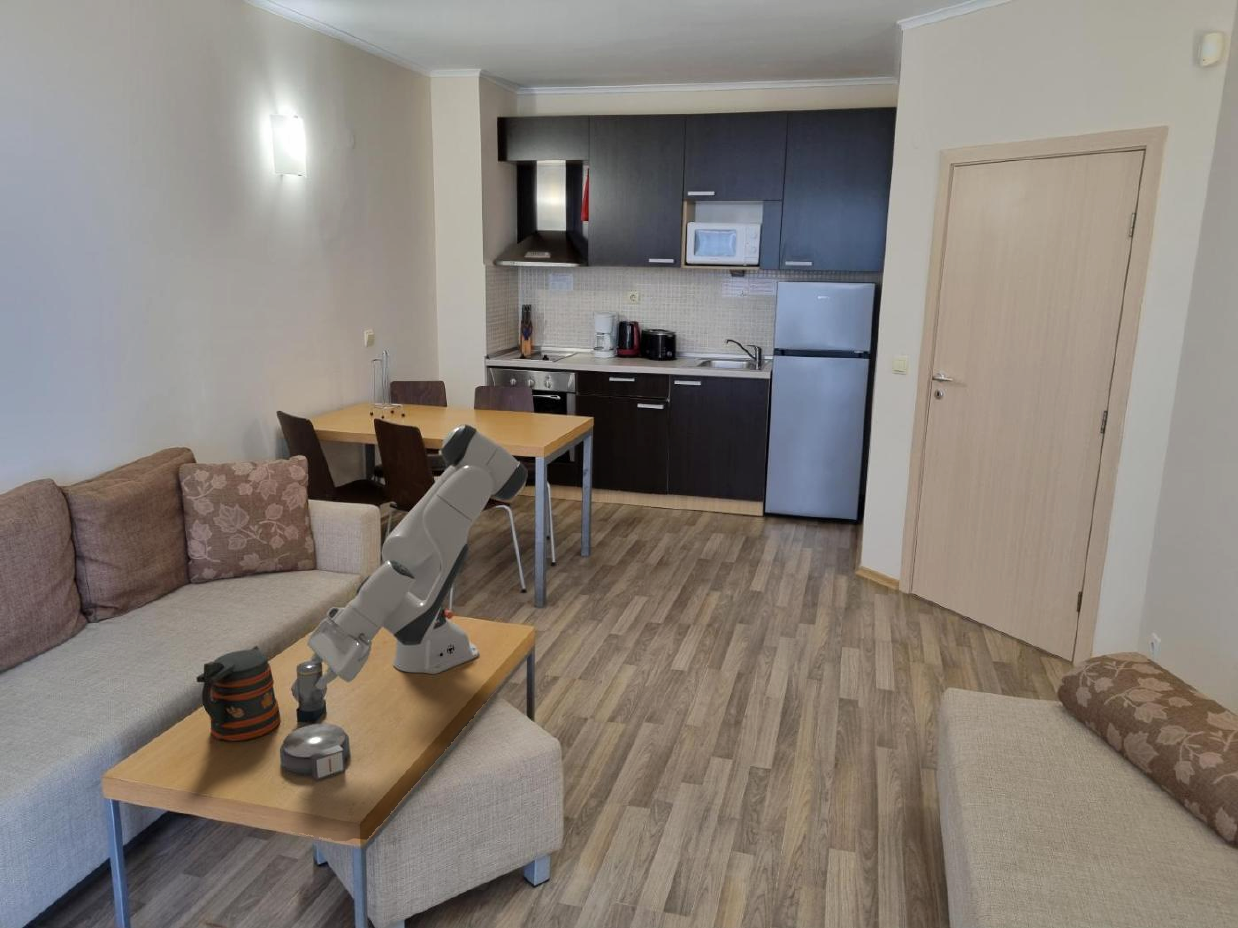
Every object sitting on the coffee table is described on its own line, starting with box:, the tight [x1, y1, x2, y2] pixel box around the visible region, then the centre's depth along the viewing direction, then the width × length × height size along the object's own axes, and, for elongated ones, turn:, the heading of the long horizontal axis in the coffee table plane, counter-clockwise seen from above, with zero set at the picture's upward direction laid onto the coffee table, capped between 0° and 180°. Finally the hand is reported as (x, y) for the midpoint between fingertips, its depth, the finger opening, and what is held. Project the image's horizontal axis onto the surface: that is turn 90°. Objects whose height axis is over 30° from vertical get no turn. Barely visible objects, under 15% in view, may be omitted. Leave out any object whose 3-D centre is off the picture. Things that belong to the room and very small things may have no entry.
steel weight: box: [295, 660, 325, 711], centre depth 183 cm, size 5×5×9 cm
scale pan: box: [282, 723, 346, 758], centre depth 187 cm, size 13×13×1 cm
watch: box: [290, 678, 328, 724], centre depth 203 cm, size 6×8×11 cm
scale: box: [279, 732, 351, 782], centre depth 186 cm, size 14×16×5 cm
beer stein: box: [196, 645, 282, 742], centre depth 196 cm, size 19×15×20 cm
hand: (312, 681), depth 184 cm, fingers closed on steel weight, 5 cm apart
